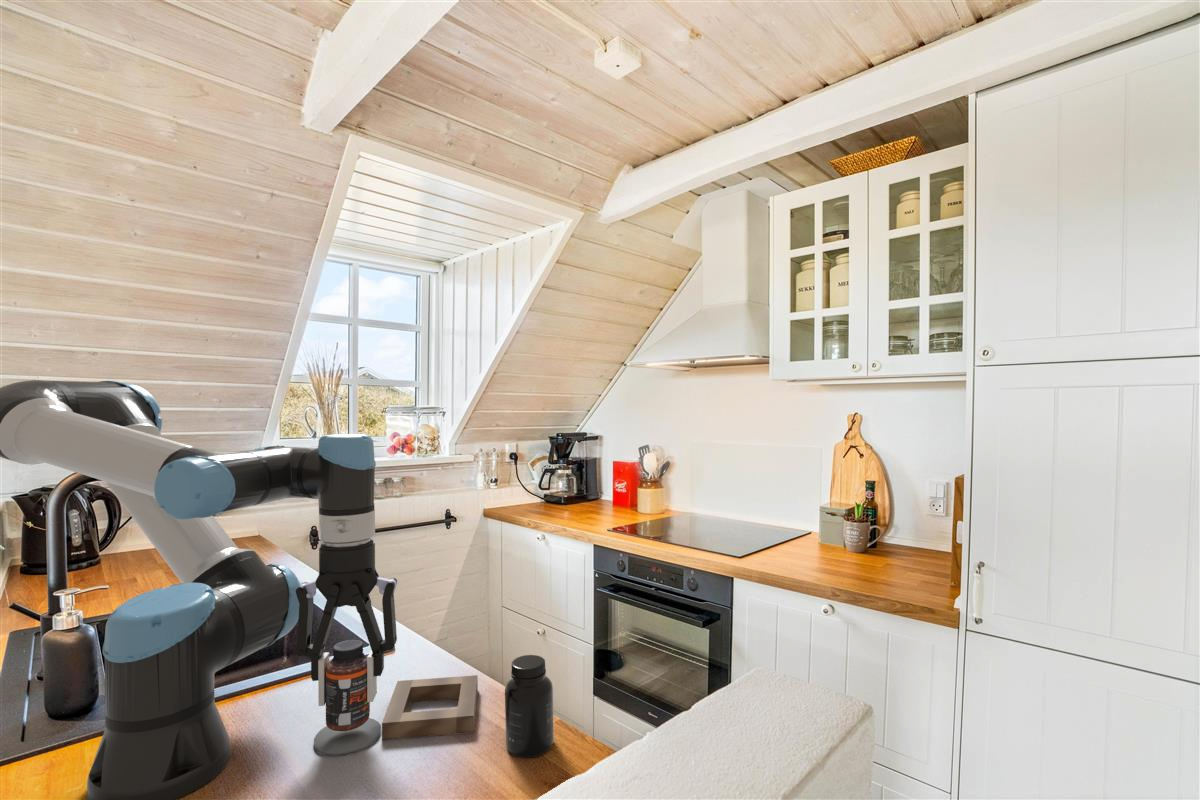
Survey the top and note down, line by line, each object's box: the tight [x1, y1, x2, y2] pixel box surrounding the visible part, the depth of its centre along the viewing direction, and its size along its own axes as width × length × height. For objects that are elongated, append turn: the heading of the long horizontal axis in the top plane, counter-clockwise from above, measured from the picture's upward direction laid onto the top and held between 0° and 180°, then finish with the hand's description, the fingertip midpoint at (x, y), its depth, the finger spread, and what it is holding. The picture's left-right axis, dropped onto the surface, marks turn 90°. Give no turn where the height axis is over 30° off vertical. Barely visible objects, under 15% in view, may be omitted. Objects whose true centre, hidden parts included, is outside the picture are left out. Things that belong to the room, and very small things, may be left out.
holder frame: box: [381, 674, 479, 741], centre depth 94 cm, size 13×13×2 cm
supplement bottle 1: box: [325, 639, 371, 731], centre depth 88 cm, size 6×6×11 cm
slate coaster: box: [313, 717, 382, 757], centre depth 88 cm, size 9×9×1 cm
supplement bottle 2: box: [504, 654, 555, 759], centre depth 86 cm, size 7×7×12 cm
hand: (348, 698), depth 88 cm, fingers closed on supplement bottle 1, 6 cm apart
